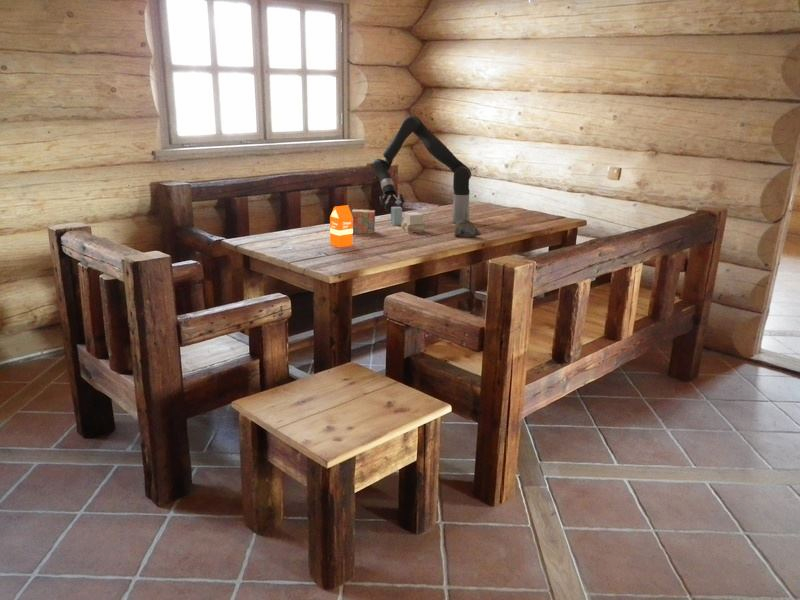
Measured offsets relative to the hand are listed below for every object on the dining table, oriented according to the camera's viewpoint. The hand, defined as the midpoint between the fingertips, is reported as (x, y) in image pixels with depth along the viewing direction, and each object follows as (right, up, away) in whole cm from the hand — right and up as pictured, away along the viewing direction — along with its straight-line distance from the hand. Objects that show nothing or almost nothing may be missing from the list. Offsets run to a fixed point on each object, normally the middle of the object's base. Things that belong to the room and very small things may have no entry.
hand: (394, 210), depth 401 cm
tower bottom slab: (+10, -14, -16) cm, 24 cm away
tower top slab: (+11, -9, -18) cm, 23 cm away
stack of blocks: (-22, -16, -22) cm, 35 cm away
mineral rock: (+39, -19, -29) cm, 52 cm away
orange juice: (-27, -25, -52) cm, 63 cm away
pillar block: (+1, -8, 0) cm, 8 cm away
